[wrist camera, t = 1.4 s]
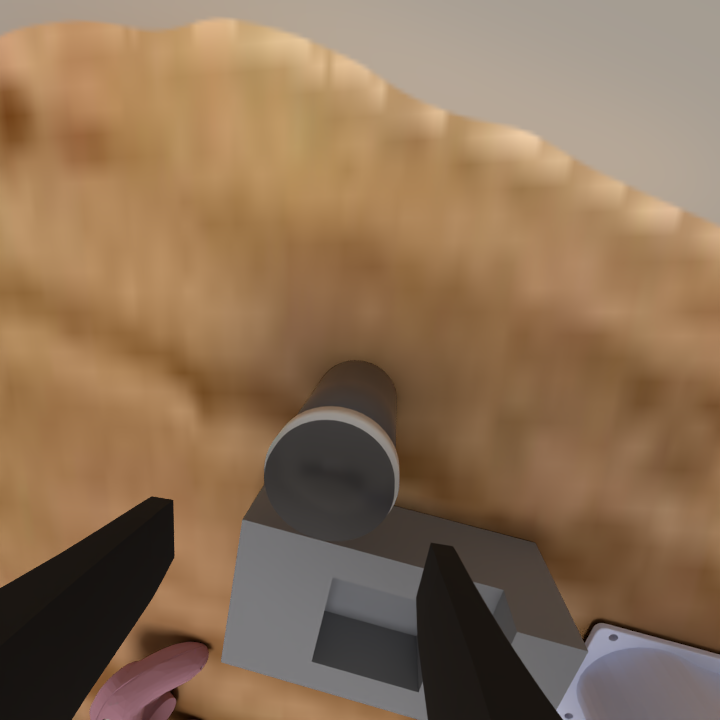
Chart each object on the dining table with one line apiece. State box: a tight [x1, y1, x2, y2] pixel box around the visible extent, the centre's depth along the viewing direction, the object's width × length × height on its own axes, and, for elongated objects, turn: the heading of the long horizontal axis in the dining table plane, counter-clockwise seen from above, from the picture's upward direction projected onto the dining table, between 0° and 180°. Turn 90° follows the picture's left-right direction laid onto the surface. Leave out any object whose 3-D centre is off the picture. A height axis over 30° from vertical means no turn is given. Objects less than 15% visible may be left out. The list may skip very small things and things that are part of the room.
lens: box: [264, 360, 399, 541], centre depth 16 cm, size 5×5×8 cm
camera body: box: [221, 484, 588, 720], centre depth 19 cm, size 16×10×6 cm, turn 78°
